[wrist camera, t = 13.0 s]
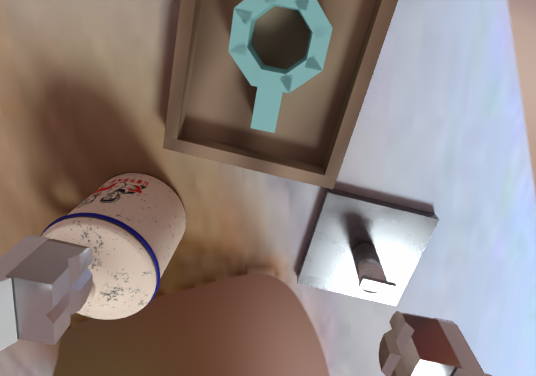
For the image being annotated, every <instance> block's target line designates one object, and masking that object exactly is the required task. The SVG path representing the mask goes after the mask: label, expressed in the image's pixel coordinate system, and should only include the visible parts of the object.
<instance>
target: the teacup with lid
mask: <svg viewBox="0 0 536 376" xmlns="http://www.w3.org/2000/svg"><path fill="white" fill-rule="evenodd" d="M185 227H186V214H185V210H184V207H183V204H182V202H181V200H180V199H179V197H178V196H177V195H176V193H175V192H174V191H173V190H172V189H171V188H170V187H169V186H168V185H166V184H165V183H163V182H162V181H160V180H158V179H157V178H154V177H152V176H149V175H145V174H140V173H127V174H121V175H118V176H116V177H113V178H111V179H110V180H108V181H107V182H106V183H105V184H103V185H102V186H101V187H100V188H99V189H97V190H96V191H95V192H94V193H93V194H91V195H90V196H89V197H88V198H87V199H85V200H84V201H83V202H82V203H81V204H79V205H78V206H77V207H76V208H75V209H73V210H72V211H71V212H70V213H69V214H67V215H66V216H63V217H61V218H59V219H57V220H55V221H54V222H52V223H51V224H50V225H49V226H48V227H47V228H46V229H45V230H44V231H43V233H42V235H41V236H42V237H46V238H50V239H56V240H61V241H65V242H69V243H74V244H78V245H82V246H87V247H90V248H91V249H92V250H93V261H92V263H91V264H90V265H89V266H88V269H89V270H90V272H91V273H92V274H93V282H92V287H91V291H90V294H89V296H88V298H87V301H86V303H85V304H84V305H83V307H82V308H81V310H80V311H78V312H77V313H79V314H82V315H84V316H88V317H92V318H97V319H119V318H123V317H127V316H129V315H132V314H134V313H136V312H138V311H139V310H141V309H142V308H144V307H145V306H146V305H147V304H148V303H149V302H150V301H151V300H152V299H153V298H154V296H155V294H156V292H157V290H158V287H159V284H160V278H161V276H162V274H163V272H164V270H165V268H166V267H167V265H168V263H169V261H170V259H171V257H172V255H173V253H174V251H175V250H176V248H177V246H178V244H179V242H180V240H181V238H182V236H183V234H184V231H185Z"/></svg>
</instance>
